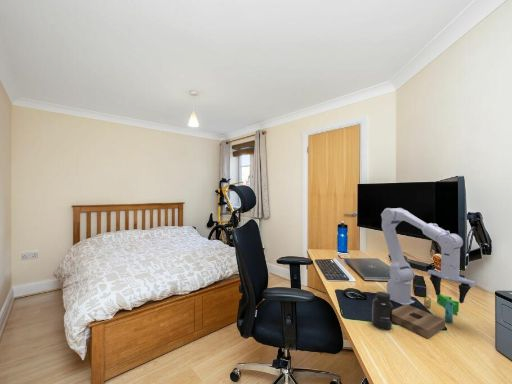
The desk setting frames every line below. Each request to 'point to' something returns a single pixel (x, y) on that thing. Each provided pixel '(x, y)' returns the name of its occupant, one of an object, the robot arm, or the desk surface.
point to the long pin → (449, 312)
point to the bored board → (417, 320)
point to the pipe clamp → (442, 299)
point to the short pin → (427, 302)
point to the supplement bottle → (382, 311)
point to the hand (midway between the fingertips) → (449, 298)
